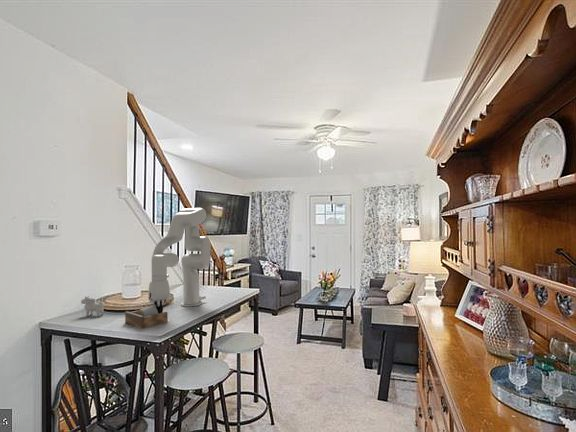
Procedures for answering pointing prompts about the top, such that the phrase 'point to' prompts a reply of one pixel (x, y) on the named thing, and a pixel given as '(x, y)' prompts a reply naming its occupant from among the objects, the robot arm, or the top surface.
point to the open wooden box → (145, 319)
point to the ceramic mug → (148, 311)
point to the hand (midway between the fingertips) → (159, 313)
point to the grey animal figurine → (92, 306)
